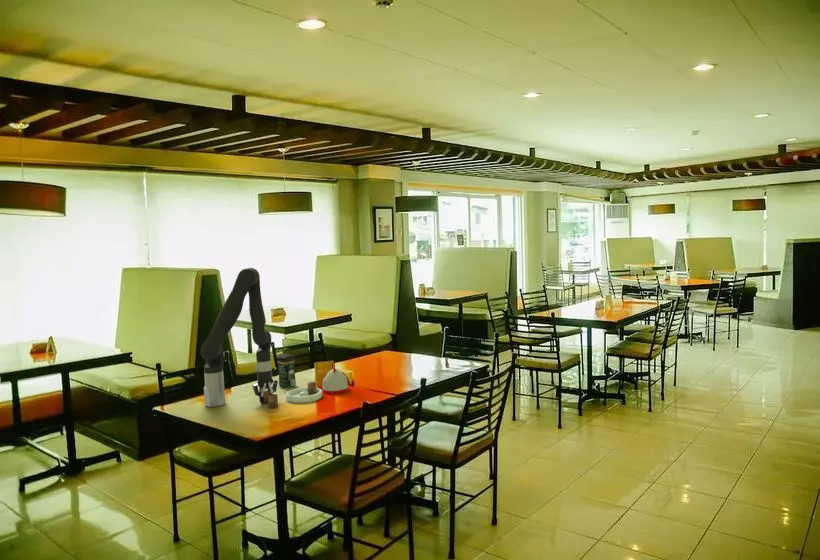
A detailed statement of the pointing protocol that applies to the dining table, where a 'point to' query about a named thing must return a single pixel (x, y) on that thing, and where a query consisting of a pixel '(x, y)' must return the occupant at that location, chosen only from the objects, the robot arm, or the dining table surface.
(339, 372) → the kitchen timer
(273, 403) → the brown short cylinder
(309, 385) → the bead
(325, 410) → the dining table surface
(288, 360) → the coffee jar
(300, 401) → the tray
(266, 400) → the bead
